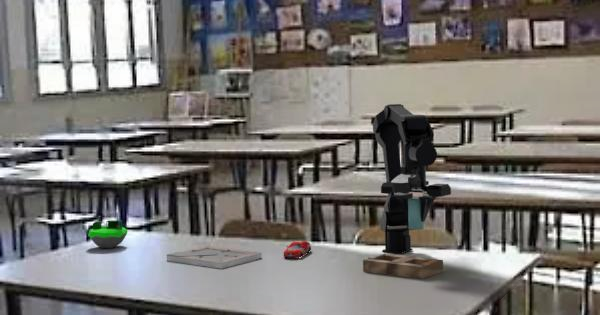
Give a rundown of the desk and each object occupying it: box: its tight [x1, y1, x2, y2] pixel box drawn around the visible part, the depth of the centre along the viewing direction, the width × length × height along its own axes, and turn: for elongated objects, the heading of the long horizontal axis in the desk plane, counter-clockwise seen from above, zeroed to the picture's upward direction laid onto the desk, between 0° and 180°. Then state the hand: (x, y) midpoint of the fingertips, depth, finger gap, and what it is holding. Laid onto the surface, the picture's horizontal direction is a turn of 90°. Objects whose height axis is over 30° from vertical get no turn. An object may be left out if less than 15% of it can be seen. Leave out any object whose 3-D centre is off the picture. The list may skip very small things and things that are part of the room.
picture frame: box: [166, 245, 263, 269], centre depth 270 cm, size 16×2×22 cm
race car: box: [283, 240, 312, 259], centre depth 272 cm, size 13×5×4 cm, turn 161°
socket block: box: [362, 252, 444, 280], centre depth 245 cm, size 18×10×3 cm, turn 51°
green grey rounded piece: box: [87, 212, 128, 249], centre depth 294 cm, size 12×12×11 cm
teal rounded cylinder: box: [408, 197, 425, 231], centre depth 253 cm, size 4×4×8 cm
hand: (416, 220), depth 253 cm, fingers closed on teal rounded cylinder, 4 cm apart
